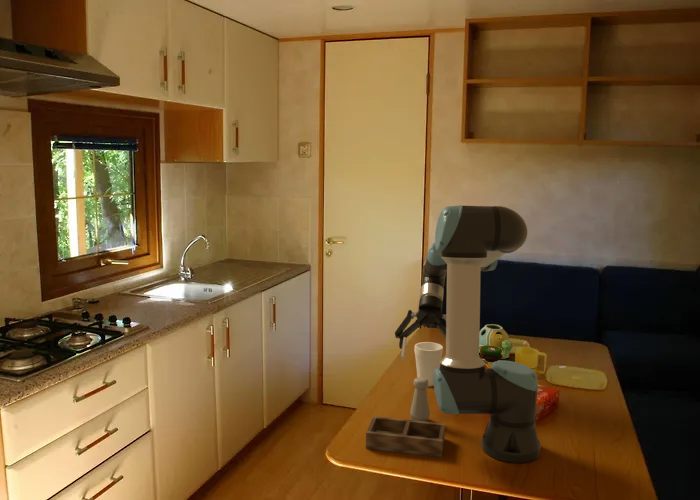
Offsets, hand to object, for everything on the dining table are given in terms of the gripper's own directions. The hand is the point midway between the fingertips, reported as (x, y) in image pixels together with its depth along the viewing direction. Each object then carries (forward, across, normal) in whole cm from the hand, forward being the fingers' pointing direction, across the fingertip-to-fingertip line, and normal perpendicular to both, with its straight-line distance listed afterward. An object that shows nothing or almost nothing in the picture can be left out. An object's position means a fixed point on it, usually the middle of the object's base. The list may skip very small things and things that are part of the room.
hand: (424, 359), depth 188 cm
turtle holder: (-26, -22, -48) cm, 59 cm away
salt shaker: (+18, 0, -4) cm, 19 cm away
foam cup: (-3, +1, -25) cm, 25 cm away
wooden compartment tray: (+28, +2, +7) cm, 29 cm away
